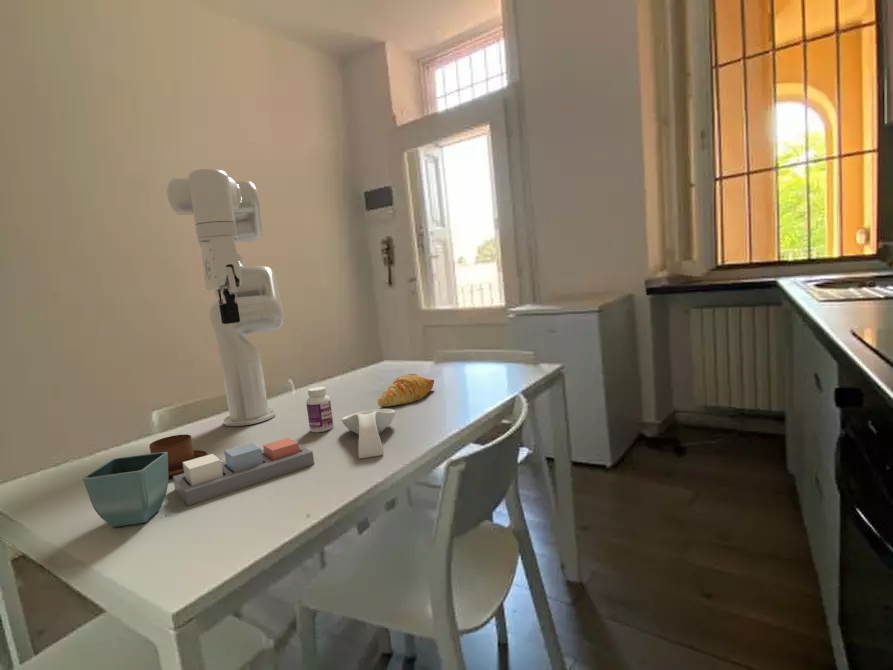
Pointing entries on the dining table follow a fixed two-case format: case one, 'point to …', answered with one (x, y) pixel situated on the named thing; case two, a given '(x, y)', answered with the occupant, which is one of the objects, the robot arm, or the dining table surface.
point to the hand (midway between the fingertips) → (231, 322)
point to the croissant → (406, 390)
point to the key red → (281, 448)
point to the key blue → (243, 457)
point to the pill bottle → (319, 410)
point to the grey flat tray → (241, 477)
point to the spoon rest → (369, 429)
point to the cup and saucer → (176, 452)
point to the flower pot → (129, 488)
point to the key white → (202, 469)
